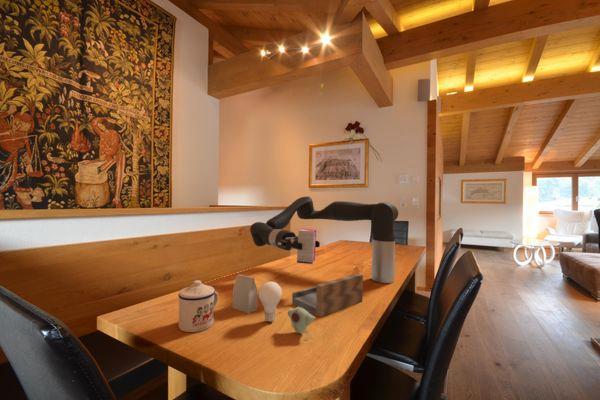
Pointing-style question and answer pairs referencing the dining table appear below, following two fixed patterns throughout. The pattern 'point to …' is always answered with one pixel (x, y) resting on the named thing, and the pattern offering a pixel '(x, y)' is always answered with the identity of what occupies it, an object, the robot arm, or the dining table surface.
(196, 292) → the teacup with lid
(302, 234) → the supplement box
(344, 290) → the cleat board
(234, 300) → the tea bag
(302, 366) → the dining table surface
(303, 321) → the pale green triangular piece
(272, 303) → the lightbulb
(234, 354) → the dining table surface
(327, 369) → the dining table surface
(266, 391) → the dining table surface
